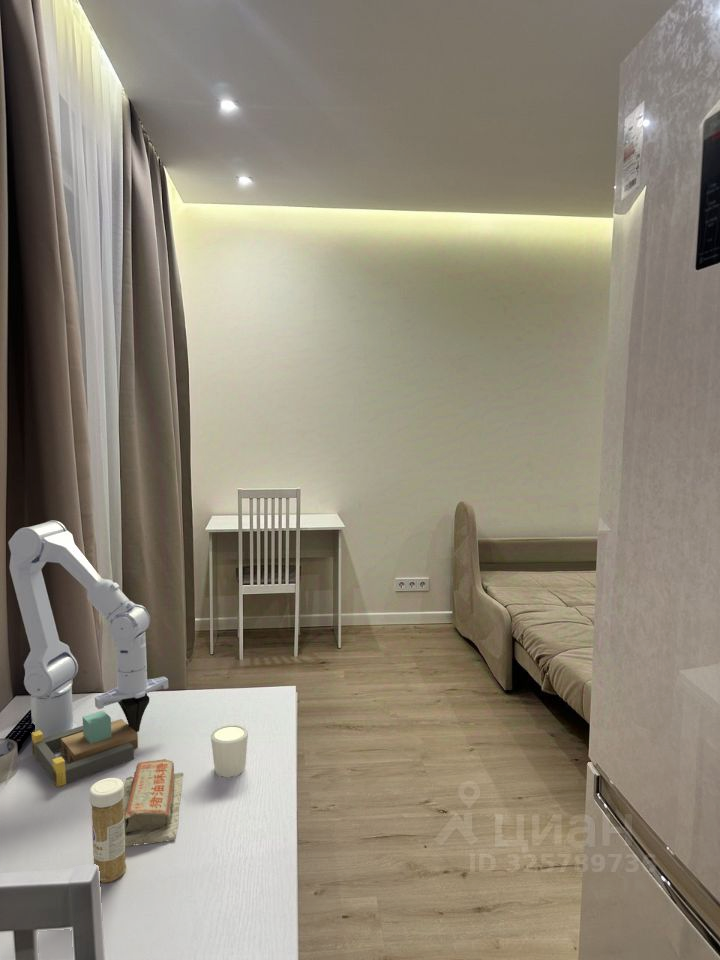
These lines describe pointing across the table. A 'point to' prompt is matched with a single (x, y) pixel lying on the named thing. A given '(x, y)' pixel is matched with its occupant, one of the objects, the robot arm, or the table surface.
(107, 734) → the block
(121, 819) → the sprinkles bottle
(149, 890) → the table surface
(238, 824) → the table surface
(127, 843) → the packaged product
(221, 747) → the white cup
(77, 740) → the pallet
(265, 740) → the table surface
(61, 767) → the dock
